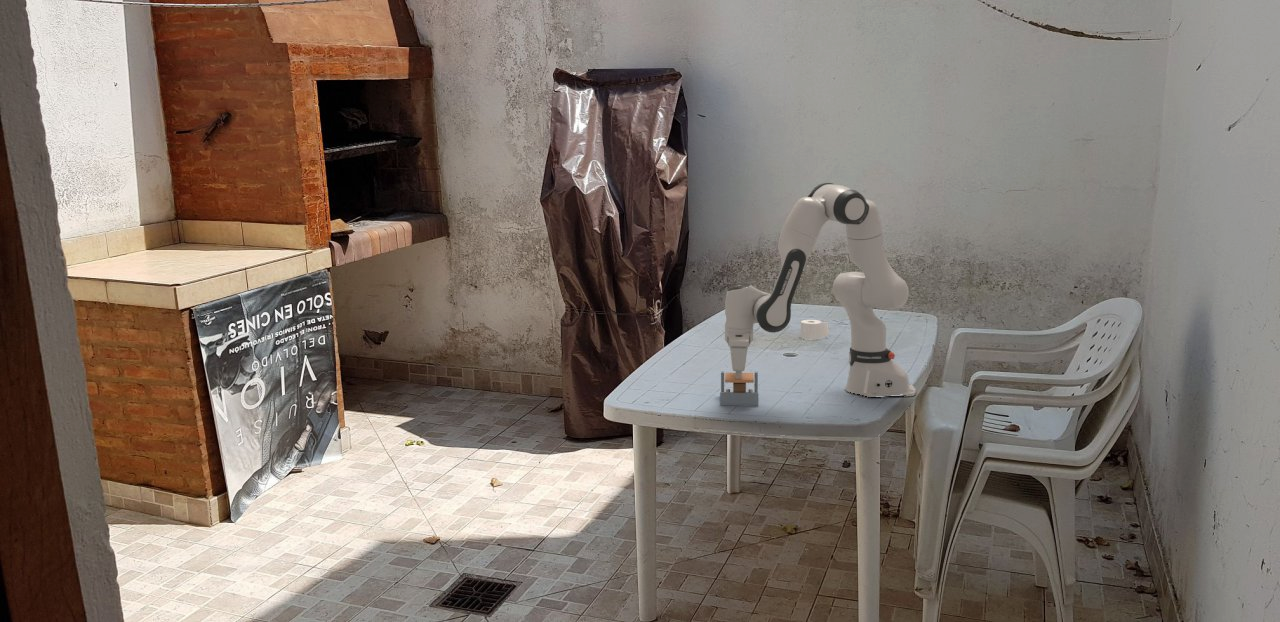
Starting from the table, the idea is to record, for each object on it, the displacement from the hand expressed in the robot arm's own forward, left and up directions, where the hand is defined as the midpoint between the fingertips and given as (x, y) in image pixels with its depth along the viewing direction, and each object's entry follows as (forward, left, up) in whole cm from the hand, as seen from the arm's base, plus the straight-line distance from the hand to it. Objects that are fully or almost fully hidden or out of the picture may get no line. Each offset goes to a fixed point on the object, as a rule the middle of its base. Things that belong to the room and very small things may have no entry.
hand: (738, 378), depth 309 cm
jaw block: (0, -2, -7) cm, 7 cm away
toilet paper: (-31, -94, -9) cm, 100 cm away
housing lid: (0, -3, -1) cm, 3 cm away
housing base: (0, -3, -8) cm, 9 cm away
